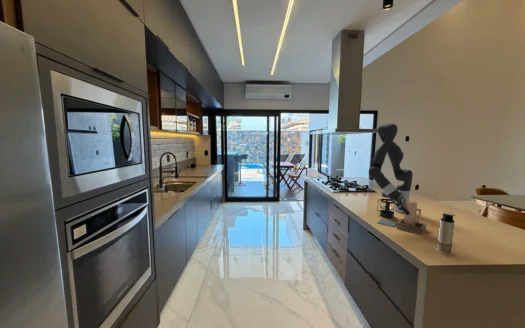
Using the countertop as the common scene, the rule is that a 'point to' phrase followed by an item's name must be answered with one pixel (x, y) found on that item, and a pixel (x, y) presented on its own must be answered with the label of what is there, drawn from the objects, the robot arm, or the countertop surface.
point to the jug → (411, 213)
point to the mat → (387, 222)
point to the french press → (386, 207)
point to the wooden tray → (412, 227)
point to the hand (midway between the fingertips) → (410, 212)
